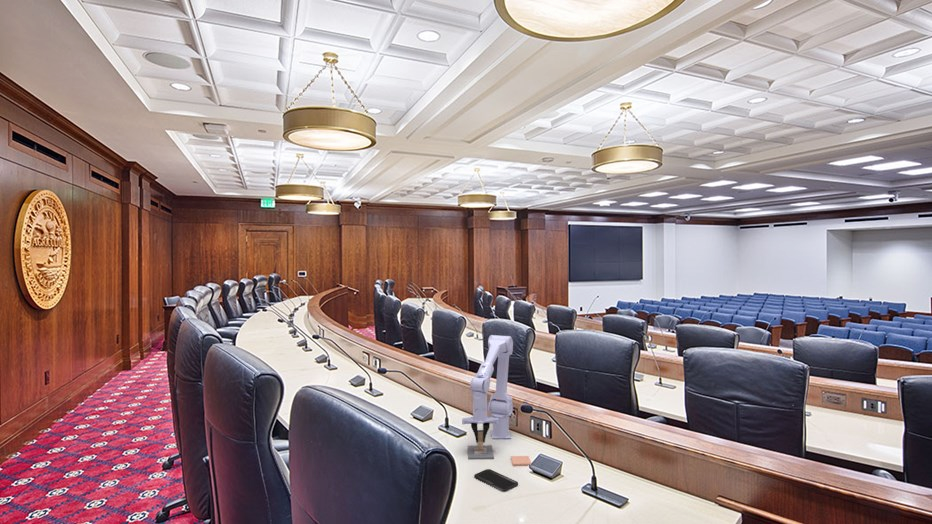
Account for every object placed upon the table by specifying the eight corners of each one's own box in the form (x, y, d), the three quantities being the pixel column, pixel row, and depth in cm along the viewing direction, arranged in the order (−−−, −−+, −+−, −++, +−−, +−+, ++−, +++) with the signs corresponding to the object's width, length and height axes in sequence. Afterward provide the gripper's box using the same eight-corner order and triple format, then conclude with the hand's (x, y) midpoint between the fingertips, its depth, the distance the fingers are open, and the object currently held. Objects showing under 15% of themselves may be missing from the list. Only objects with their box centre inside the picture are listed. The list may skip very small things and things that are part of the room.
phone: (488, 468, 164) (519, 482, 153) (488, 471, 164) (519, 485, 153) (472, 475, 159) (503, 490, 148) (472, 478, 159) (503, 493, 148)
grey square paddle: (474, 450, 181) (473, 430, 181) (486, 449, 181) (486, 430, 181) (474, 454, 176) (474, 434, 176) (487, 454, 176) (487, 434, 177)
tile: (510, 456, 174) (512, 463, 167) (528, 455, 175) (531, 463, 168) (510, 459, 174) (512, 467, 167) (528, 459, 175) (531, 467, 168)
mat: (467, 447, 186) (467, 445, 186) (491, 446, 186) (491, 445, 186) (468, 459, 174) (468, 457, 174) (494, 458, 174) (494, 457, 174)
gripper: (462, 411, 176) (462, 445, 176) (499, 410, 176) (499, 445, 176) (461, 405, 183) (462, 439, 183) (497, 405, 183) (497, 438, 183)
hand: (480, 441), depth 180 cm, fingers closed on grey square paddle, 2 cm apart
